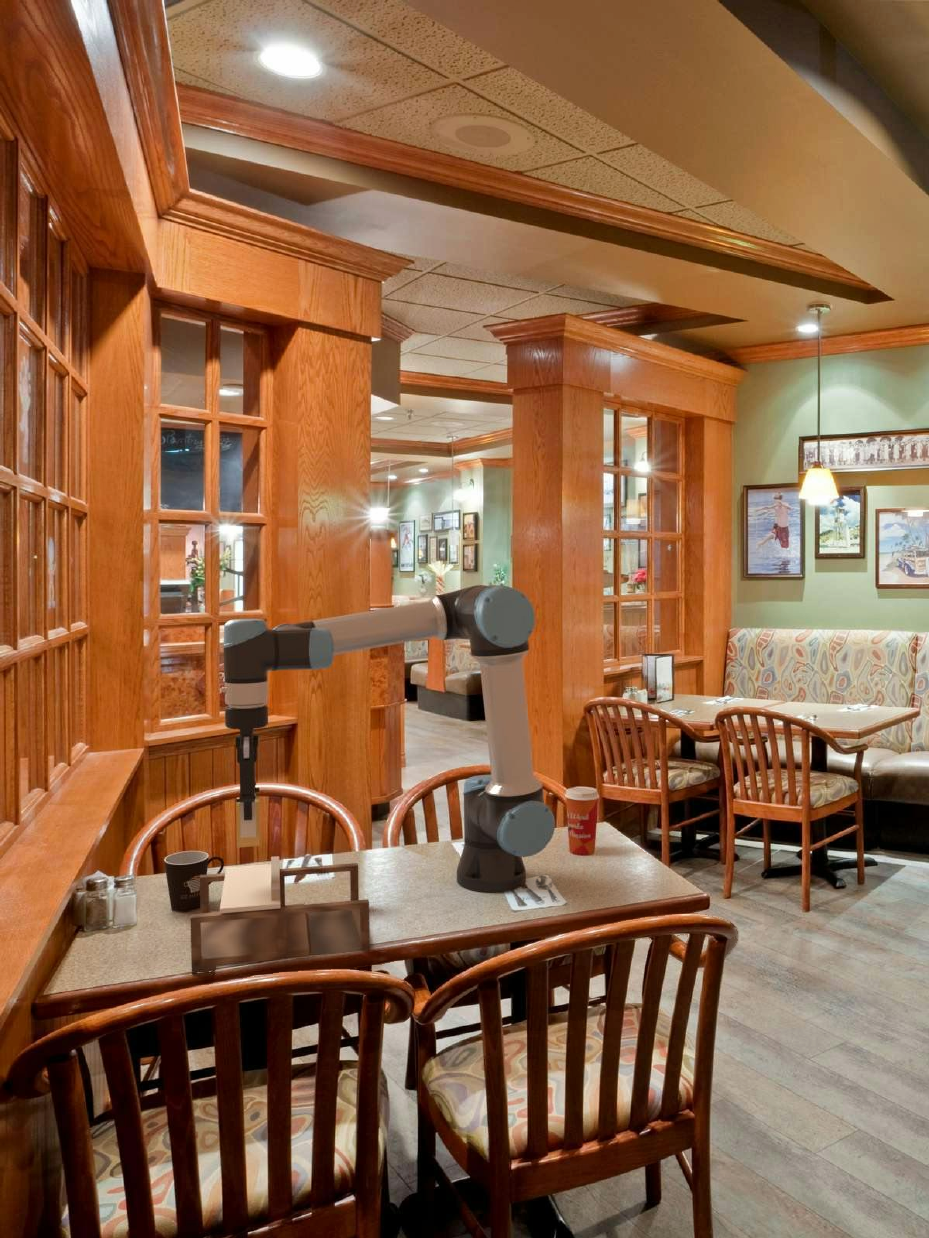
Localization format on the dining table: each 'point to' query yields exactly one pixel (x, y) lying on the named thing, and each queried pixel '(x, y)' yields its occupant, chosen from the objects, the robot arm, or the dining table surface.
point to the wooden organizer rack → (279, 926)
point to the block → (256, 840)
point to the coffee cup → (582, 819)
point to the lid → (251, 888)
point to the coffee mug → (186, 878)
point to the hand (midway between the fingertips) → (248, 832)
